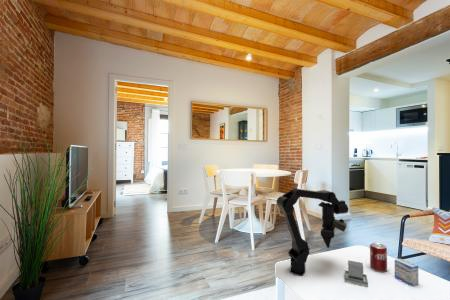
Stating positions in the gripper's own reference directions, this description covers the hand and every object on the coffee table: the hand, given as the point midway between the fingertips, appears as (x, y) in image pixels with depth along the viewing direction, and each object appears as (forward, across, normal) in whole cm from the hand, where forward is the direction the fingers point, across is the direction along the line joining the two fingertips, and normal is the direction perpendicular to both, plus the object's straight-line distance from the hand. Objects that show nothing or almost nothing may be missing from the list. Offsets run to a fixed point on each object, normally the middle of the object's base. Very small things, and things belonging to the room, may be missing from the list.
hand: (328, 244), depth 119 cm
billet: (+11, -8, -12) cm, 18 cm away
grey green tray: (+12, -8, -12) cm, 19 cm away
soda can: (+12, +9, -23) cm, 28 cm away
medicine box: (+12, +2, -33) cm, 35 cm away
